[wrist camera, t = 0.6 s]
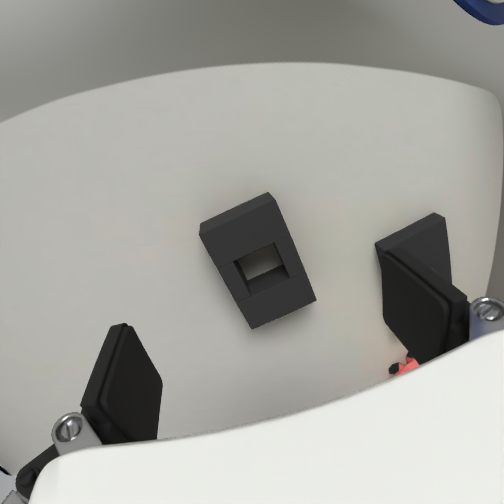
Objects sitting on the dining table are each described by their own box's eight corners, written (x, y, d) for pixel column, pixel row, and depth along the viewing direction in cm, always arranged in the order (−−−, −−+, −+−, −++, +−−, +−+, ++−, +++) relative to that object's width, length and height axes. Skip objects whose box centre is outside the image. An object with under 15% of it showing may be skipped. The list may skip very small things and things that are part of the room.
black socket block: (200, 223, 27) (198, 234, 24) (268, 191, 26) (275, 199, 23) (247, 312, 30) (251, 329, 28) (307, 285, 30) (317, 300, 27)
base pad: (374, 242, 29) (391, 256, 26) (433, 212, 29) (454, 221, 26) (393, 327, 34) (407, 344, 31) (444, 297, 34) (459, 311, 30)
